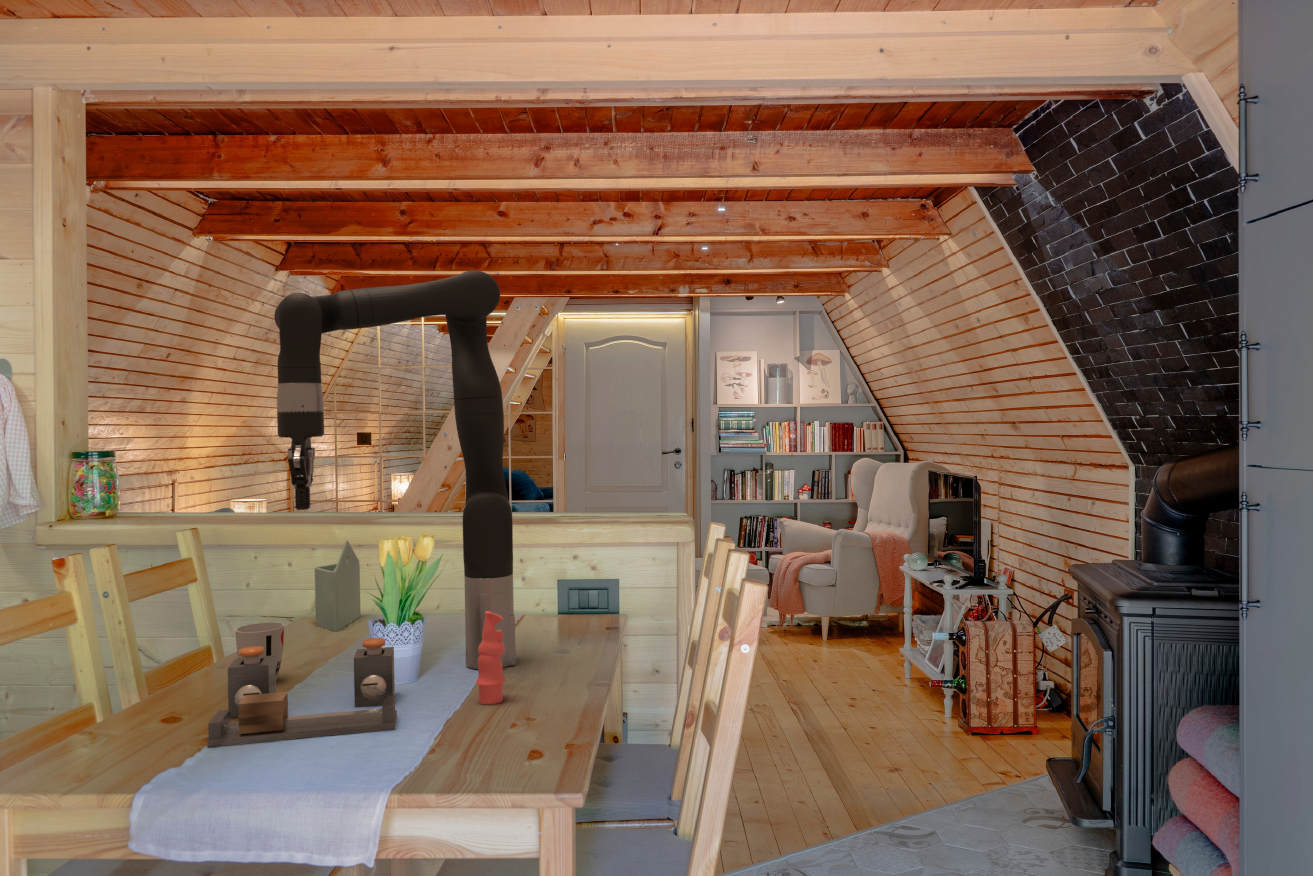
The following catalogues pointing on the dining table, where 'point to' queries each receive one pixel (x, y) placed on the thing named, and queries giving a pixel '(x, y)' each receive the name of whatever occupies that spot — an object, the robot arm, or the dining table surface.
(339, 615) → the planter
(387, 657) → the cabinet
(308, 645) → the dining table surface
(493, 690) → the figurine
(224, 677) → the dining table surface
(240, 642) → the cup
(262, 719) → the carriage
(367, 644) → the plunger
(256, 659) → the plunger
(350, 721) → the rail
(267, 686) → the cabinet
